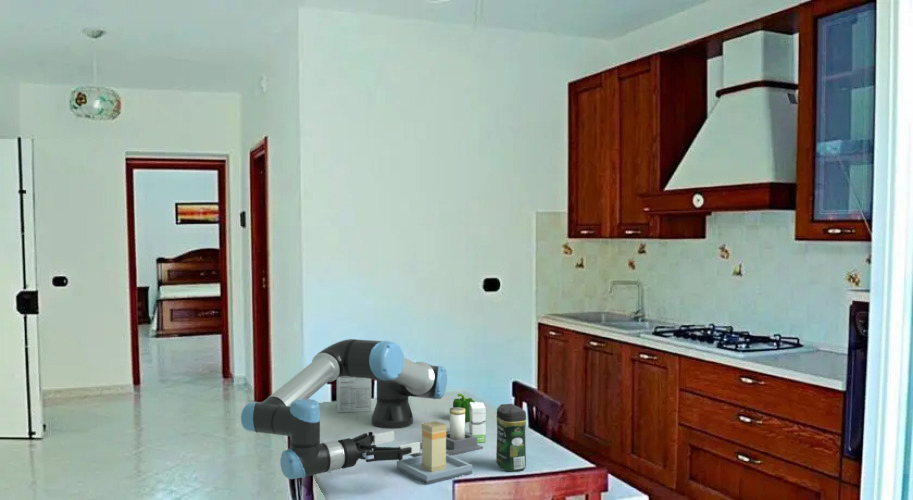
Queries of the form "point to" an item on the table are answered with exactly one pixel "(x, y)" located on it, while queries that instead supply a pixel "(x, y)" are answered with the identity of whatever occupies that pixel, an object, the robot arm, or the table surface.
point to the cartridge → (457, 423)
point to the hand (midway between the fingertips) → (406, 441)
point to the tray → (452, 470)
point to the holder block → (458, 445)
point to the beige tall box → (434, 446)
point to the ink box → (478, 421)
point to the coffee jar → (511, 438)
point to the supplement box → (353, 394)
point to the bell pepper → (463, 405)
